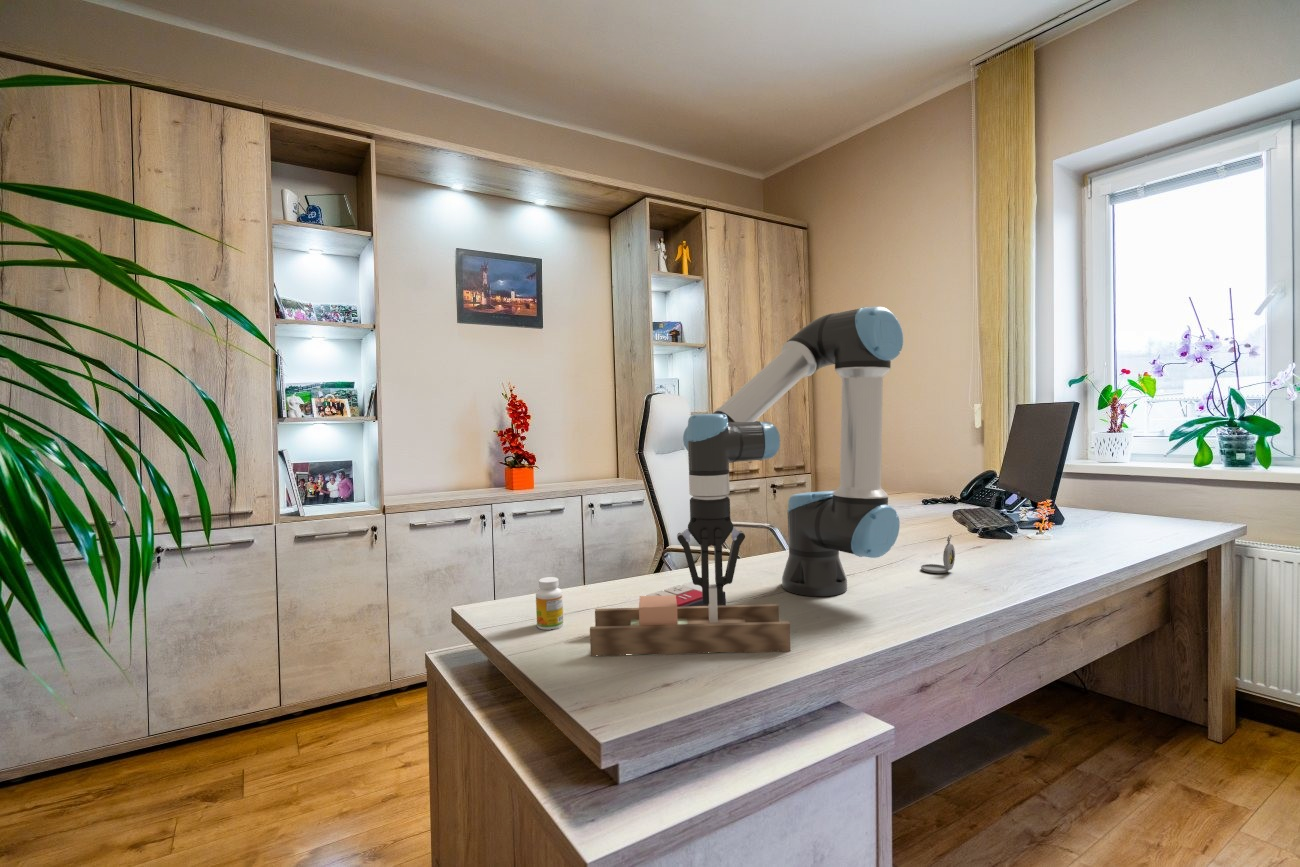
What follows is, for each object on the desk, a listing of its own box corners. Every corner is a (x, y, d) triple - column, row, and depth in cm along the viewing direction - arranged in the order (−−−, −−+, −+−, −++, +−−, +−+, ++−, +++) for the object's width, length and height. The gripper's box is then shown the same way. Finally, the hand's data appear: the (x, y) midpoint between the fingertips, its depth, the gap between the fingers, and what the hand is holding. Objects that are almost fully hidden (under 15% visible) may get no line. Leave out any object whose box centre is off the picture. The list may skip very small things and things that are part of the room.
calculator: (641, 594, 141) (693, 578, 150) (643, 613, 142) (694, 596, 151) (673, 606, 133) (726, 588, 142) (675, 626, 133) (727, 607, 142)
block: (676, 620, 125) (675, 595, 124) (677, 633, 118) (677, 606, 117) (640, 621, 125) (639, 596, 124) (639, 634, 118) (638, 607, 117)
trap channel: (778, 628, 127) (777, 604, 127) (790, 651, 116) (789, 623, 115) (596, 633, 127) (595, 608, 127) (590, 656, 116) (589, 628, 116)
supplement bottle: (534, 624, 134) (532, 578, 134) (559, 620, 136) (557, 574, 136) (540, 632, 129) (538, 584, 129) (566, 627, 131) (564, 580, 131)
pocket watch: (917, 567, 170) (917, 530, 169) (951, 568, 169) (951, 530, 168) (926, 576, 162) (926, 536, 161) (962, 576, 160) (961, 536, 160)
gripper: (741, 492, 124) (745, 612, 125) (674, 494, 124) (678, 614, 125) (747, 498, 116) (750, 626, 118) (675, 500, 117) (679, 628, 118)
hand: (713, 620), depth 121 cm, fingers closed
